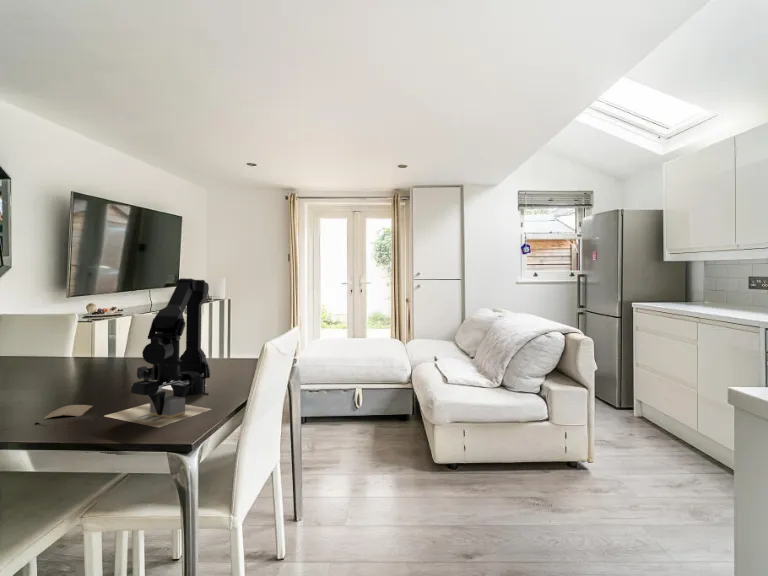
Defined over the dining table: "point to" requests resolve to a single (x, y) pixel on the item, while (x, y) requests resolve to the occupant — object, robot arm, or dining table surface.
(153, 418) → the plywood board
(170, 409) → the block
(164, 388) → the paper sheet
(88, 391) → the dining table surface
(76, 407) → the clay tablet
